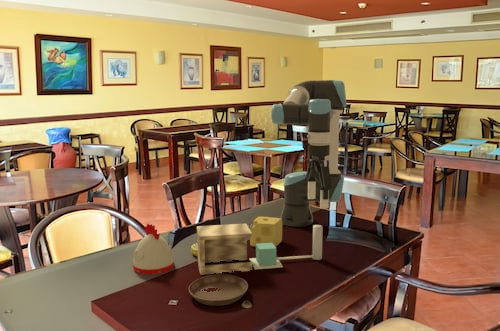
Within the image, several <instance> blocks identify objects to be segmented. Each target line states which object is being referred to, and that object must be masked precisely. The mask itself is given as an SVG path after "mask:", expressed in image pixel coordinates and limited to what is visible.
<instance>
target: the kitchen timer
mask: <svg viewBox="0 0 500 331" xmlns="http://www.w3.org/2000/svg"><path fill="white" fill-rule="evenodd" d="M144 232H145V234H146V235H145V236H143V238H142V239H140V241H139V243H138V245H137V246H136V248H135V249H134V250H133V260H132V268H133V271H134V272H136V273H139V274H144V275H156V274H162V273H165V272H168V271H170V270H171V269H173V267H174V265H175V260H174V255H173V252H172V250H173V248H172V245H169V244H168V242H167V241H166V239H165V237H163V236H161V235H160V233H158V229H156V227H155V225H153V223H152V224H150V223H147V224H146V226H144Z"/></svg>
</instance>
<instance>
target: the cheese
mask: <svg viewBox="0 0 500 331" xmlns="http://www.w3.org/2000/svg"><path fill="white" fill-rule="evenodd" d="M250 231H251V232H252V237H249V238H250V239H249V245H250V247H256V244H260V243H273V244H274V246H275V247H276V248H277V246H279V244H280V243H282V242H283V241H282V240H283V224H282V218H280V217H274V216H273V217H270V216H262V215H259V216H258V217H256V218H255V219H254V220H253V225H252V226H251V228H250Z"/></svg>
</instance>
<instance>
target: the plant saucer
mask: <svg viewBox="0 0 500 331" xmlns="http://www.w3.org/2000/svg"><path fill="white" fill-rule="evenodd" d="M208 288H215V289H216V288H218V289H217V290H216V291H213V292H212V291H210V292H207V291H204V289H206V290H207V289H208ZM248 288H249V284H248V282H247V281H246V280H245V279H244V278H241V277H240V276H236V275H232V274H224V273H220V274H209V275H206V276H202V277H200V278H198V279H196V280H194V281H192V282H191V283H190V285H189V286H188V292H189V294H190V295H191V296H192V298H194V300H195V301H196V302H199V303H200V304H202V305H207V306H214V307H215V306H216V307H218V306H228V305H231V304H234V303H235V302H237V301H238V300H239V301H240V299H241V298H242V297H243V296H244V295H245V294H246V292H247V291H248ZM219 289H220V290H219ZM199 290H200V291H199ZM202 290H203V291H202ZM218 290H219V291H218Z"/></svg>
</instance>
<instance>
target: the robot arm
mask: <svg viewBox="0 0 500 331" xmlns="http://www.w3.org/2000/svg"><path fill="white" fill-rule="evenodd" d="M346 96H347V95H346V86H345V83H344V81H342V80H336V79H332V80H331V79H329V80H328V79H324V80H305V81H303V82H299V83H298V84H295V85H294V86H293V87H291V88H290V89H289V91H288V94H287V97H286V99H285V100H284V101H283V103H275V104H273V105H272V107H271V113H270V114H271V121H272V123H273V124H274V125H307V126H308V130H307V131H308V132H307V135H306V138H307V143H308V145H307V155H308V163H307V168H306V171H303V170H302V171H294V172H290V173H287V174H286V175H285V176H284V181H283V183H284V184H283V190H284V191H283V199H284V200H283V208H282V210H281V214H280V217H279V218H282V225H284V226H288V227H295V228H296V227H297V228H298V227H300V228H301V227H308V226H310V225H312V224H313V223H314V216H313V213H312V211H311V207H310V202H320V203H319V204H320V205H319V207H320V209H329V203H338V202H340V201H341V198H342V193H343V187H344V182H345V177H344V176H343V175H342V172H341V171H340V170H339V169H338V168H339V144H340V143H339V142H340V141H339V137H340V135H339V134H340V115H341V114H342V113H343V112H344V108H346V107H347V97H346Z"/></svg>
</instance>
